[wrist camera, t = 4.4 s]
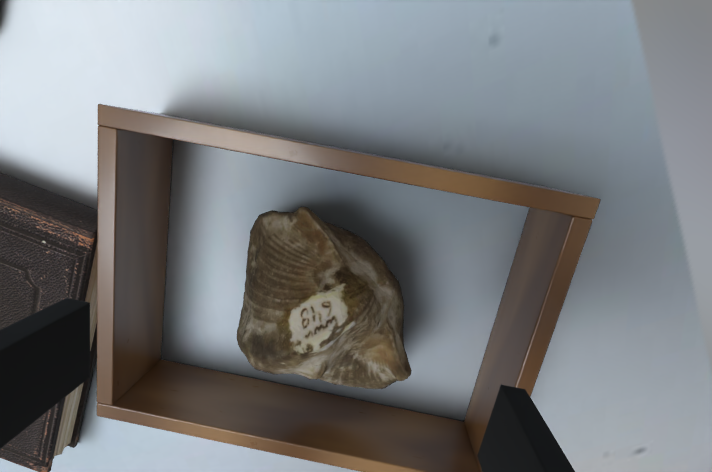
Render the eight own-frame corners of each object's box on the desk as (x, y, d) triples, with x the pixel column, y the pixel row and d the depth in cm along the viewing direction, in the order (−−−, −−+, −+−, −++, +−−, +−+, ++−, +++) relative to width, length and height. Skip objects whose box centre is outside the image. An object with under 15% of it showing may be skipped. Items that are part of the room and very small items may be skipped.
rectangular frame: (552, 187, 17) (601, 199, 13) (473, 435, 21) (494, 500, 17) (159, 113, 18) (97, 103, 14) (148, 367, 21) (95, 416, 17)
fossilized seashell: (445, 380, 17) (393, 179, 17) (367, 479, 12) (289, 193, 12) (333, 370, 22) (290, 213, 22) (242, 439, 17) (184, 234, 16)
